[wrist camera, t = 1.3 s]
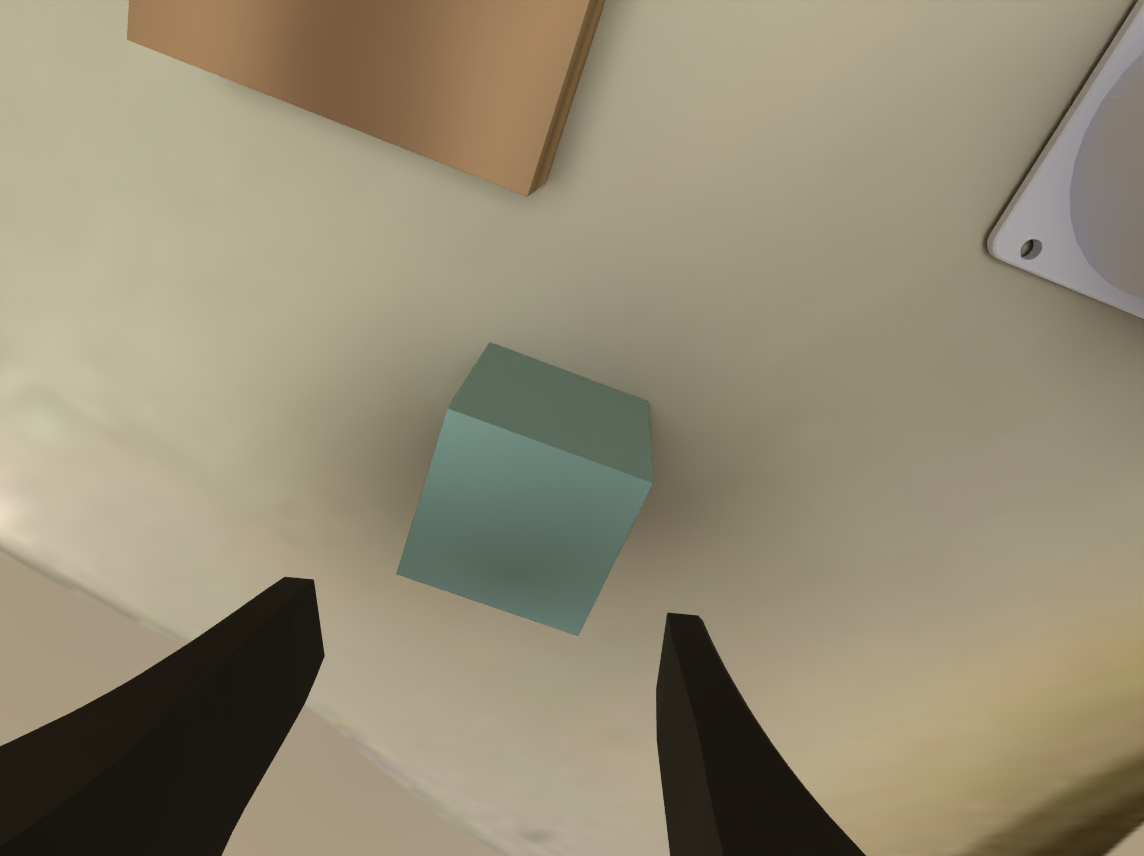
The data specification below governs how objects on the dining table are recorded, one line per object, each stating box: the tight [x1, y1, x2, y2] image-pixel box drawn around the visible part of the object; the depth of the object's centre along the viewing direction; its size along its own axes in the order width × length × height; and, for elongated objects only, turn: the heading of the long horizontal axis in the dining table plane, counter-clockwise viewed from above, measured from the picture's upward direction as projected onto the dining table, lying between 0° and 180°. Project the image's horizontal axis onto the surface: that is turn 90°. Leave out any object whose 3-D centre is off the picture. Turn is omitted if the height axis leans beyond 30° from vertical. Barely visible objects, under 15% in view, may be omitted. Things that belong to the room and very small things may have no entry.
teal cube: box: [397, 343, 653, 636], centre depth 19 cm, size 5×5×5 cm
